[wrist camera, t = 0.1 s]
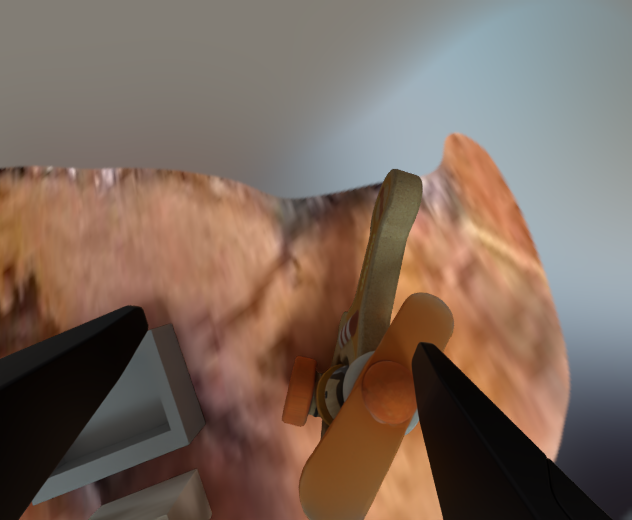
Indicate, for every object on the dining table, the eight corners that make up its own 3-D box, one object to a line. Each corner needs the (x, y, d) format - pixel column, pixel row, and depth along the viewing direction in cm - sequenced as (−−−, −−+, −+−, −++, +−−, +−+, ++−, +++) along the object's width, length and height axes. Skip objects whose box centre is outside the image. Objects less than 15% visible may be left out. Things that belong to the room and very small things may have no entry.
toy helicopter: (282, 413, 23) (222, 624, 9) (336, 189, 24) (356, 70, 10) (373, 437, 22) (456, 695, 9) (423, 209, 23) (565, 113, 10)
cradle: (205, 423, 23) (189, 444, 20) (68, 477, 23) (33, 505, 20) (171, 323, 23) (150, 329, 20) (38, 375, 23) (-1, 388, 20)
